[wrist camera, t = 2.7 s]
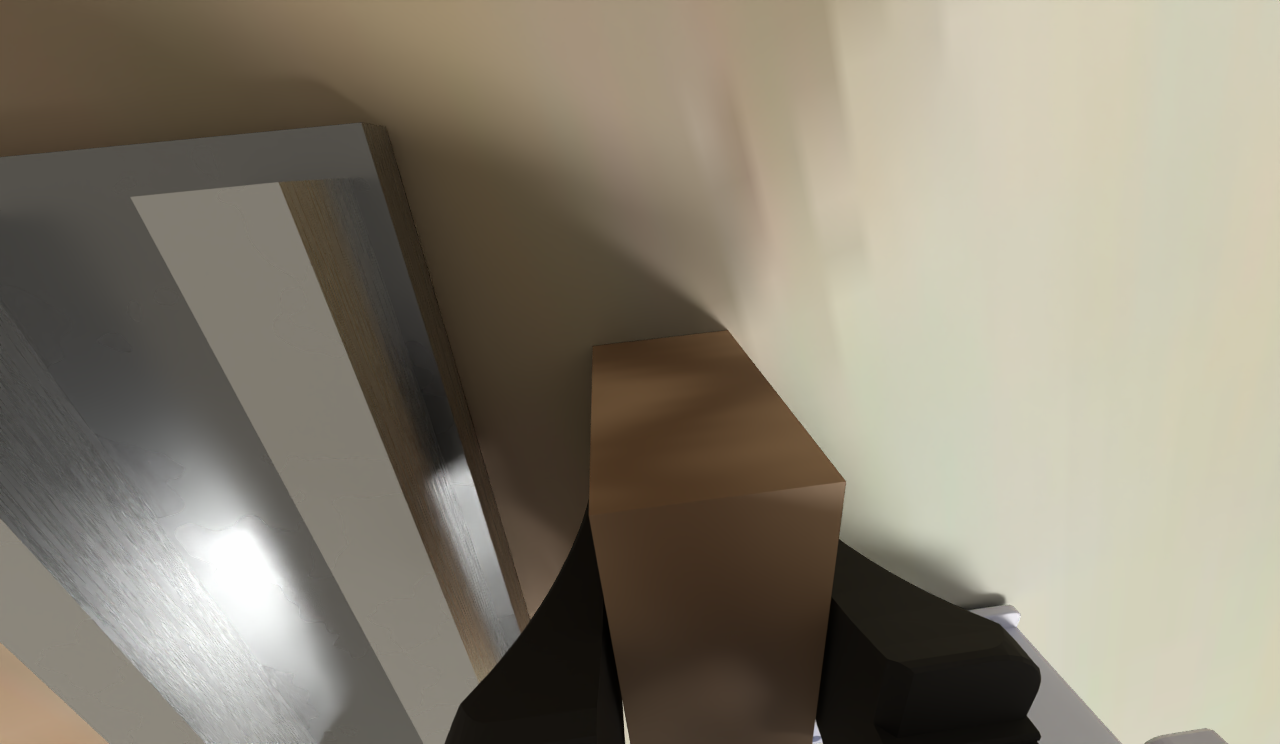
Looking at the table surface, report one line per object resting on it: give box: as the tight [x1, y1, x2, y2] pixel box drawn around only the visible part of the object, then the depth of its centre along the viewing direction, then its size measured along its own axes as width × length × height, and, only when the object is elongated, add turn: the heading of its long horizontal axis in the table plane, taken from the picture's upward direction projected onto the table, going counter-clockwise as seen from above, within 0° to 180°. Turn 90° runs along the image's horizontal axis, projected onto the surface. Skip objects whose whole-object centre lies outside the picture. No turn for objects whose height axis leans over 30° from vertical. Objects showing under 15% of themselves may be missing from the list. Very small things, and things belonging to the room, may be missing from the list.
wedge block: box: [589, 330, 846, 744], centre depth 12 cm, size 4×10×7 cm, turn 5°
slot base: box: [0, 123, 530, 744], centre depth 13 cm, size 12×22×4 cm, turn 5°
